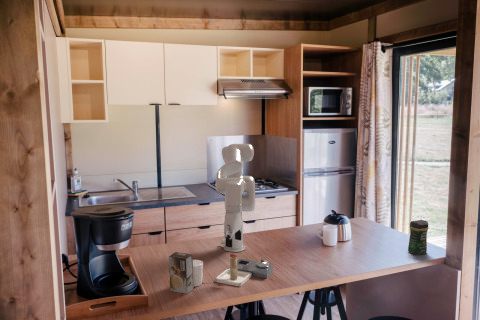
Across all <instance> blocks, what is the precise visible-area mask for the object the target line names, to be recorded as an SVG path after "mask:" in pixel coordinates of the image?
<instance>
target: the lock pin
mask: <svg viewBox="0 0 480 320" xmlns="http://www.w3.org/2000/svg"><path fill="white" fill-rule="evenodd" d="M237 260H238V252H230V254H229V269H230V279H231V280H237Z"/></svg>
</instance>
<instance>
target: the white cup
mask: <svg viewBox="0 0 480 320" xmlns="http://www.w3.org/2000/svg"><path fill="white" fill-rule="evenodd" d="M203 271H204V261H203V260H200V259H193V288H194V287H199V286H201V285H202V284H203V274H204V272H203Z"/></svg>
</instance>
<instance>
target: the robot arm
mask: <svg viewBox="0 0 480 320" xmlns="http://www.w3.org/2000/svg"><path fill="white" fill-rule="evenodd" d="M254 154H255V149H254V146H253V145H252V144H251V143H231V144H229V145H227V146H224V147H222V149H221V155H222V160H223V162H224V164H223V165H221V166H220V167H219V169H218V170H217V172H216V175H215V190H216V192H217V193H219V194H224V196H225V199H224V201H223V203H224V209H225V212H224V213H225V214H224V219H223V221H224V223H223V225H224V226H223V234H224V238H225V239H220V244H221V245H223V250H224V251H225V252H230V253H238V252H243V251H245V250H246V245H245V244H243V243H244V242H243V241H244V238H243V237H244V235H243V234H244V232H243V231H244V230H243V228H244V227H243V226H244V223H243V221H244V220H243V216H242V213H243V212H244V213H245V212H253V211H255V208H256V182H255V178H254V177H253V176H251V175H242V170H243V162H252V160H253V159H254ZM243 193H244V194H243ZM245 193H246V194H245Z"/></svg>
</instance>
